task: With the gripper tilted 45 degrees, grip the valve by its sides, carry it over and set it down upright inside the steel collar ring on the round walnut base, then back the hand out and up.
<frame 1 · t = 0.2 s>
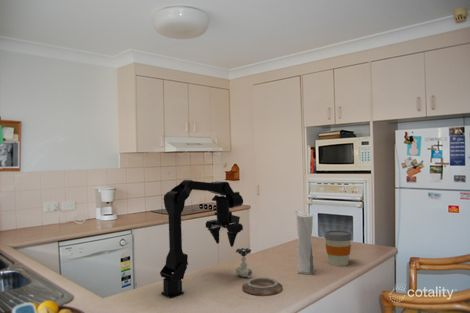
hand: (224, 245, 168), 14 cm above the worktop, tool pointing down, fingers open, 9 cm apart
collar base: (262, 288, 152), on the worktop
reusable coffee cup: (338, 263, 186), on the worktop
valve: (244, 277, 168), on the worktop
skyscraper: (305, 272, 173), on the worktop
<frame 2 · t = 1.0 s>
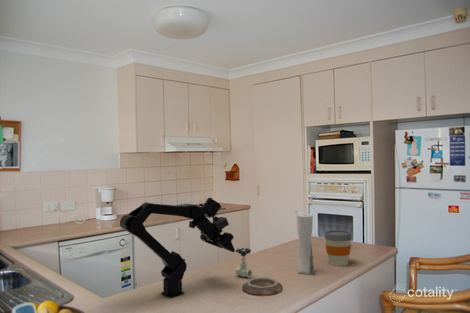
hand: (228, 249, 163), 13 cm above the worktop, tool tilted 45°, fingers open, 9 cm apart
nothing on the worktop moved.
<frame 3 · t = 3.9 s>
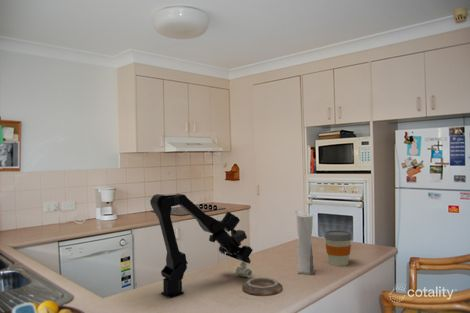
hand: (246, 261, 169), 7 cm above the worktop, tool tilted 45°, fingers closed on valve, 5 cm apart
valve: (244, 277, 168), on the worktop, touching gripper
everything else where it was.
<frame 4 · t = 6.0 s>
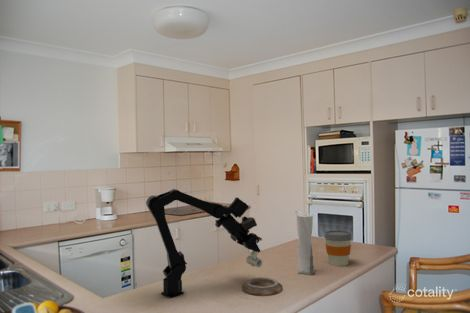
hand: (256, 250, 161), 13 cm above the worktop, tool tilted 45°, fingers closed on valve, 5 cm apart
valve: (254, 266, 160), point 6 cm above the worktop, touching gripper
everything else where it was.
when the fingers open (9 cm above the worktop, at t = 8.3 s): valve stays where it is, resting on collar base.
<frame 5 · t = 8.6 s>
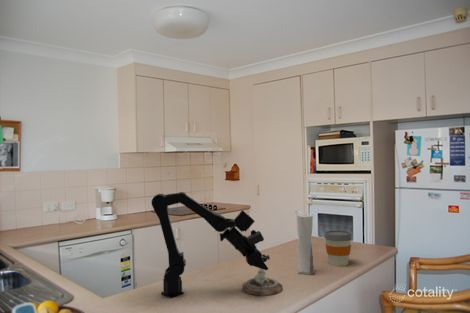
hand: (265, 266, 152), 9 cm above the worktop, tool tilted 45°, fingers open, 8 cm apart
valve: (261, 286, 152), point 1 cm above the worktop, touching collar base
everything else where it was.
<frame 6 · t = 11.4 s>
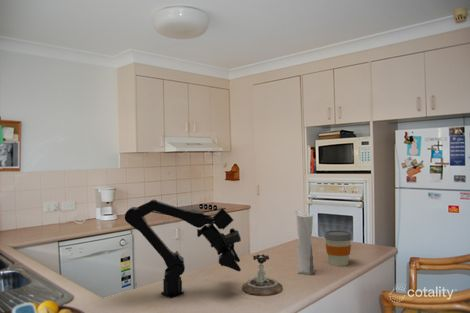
hand: (239, 265, 153), 9 cm above the worktop, tool tilted 40°, fingers open, 9 cm apart
nothing on the worktop moved.
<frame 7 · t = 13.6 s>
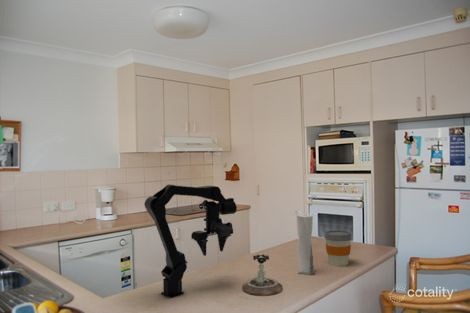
hand: (213, 253, 158), 13 cm above the worktop, tool pointing down, fingers open, 9 cm apart
nothing on the worktop moved.
at the end: valve 0.2 cm off-centre on the collar base, point 0.8 cm above the collar base's base; valve tilted 0°; the gripper is holding nothing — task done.
